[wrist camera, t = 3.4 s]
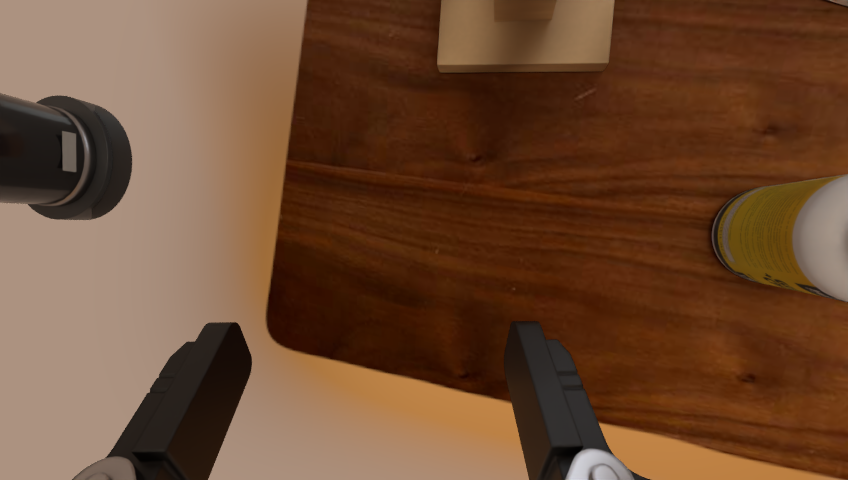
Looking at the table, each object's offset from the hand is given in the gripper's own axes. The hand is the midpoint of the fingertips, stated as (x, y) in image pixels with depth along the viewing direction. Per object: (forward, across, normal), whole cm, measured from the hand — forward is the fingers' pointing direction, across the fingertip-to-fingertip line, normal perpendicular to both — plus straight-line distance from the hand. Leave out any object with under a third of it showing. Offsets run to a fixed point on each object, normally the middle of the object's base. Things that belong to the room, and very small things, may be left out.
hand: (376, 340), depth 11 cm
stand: (+26, -9, -7) cm, 28 cm away
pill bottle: (+13, -25, +5) cm, 29 cm away
